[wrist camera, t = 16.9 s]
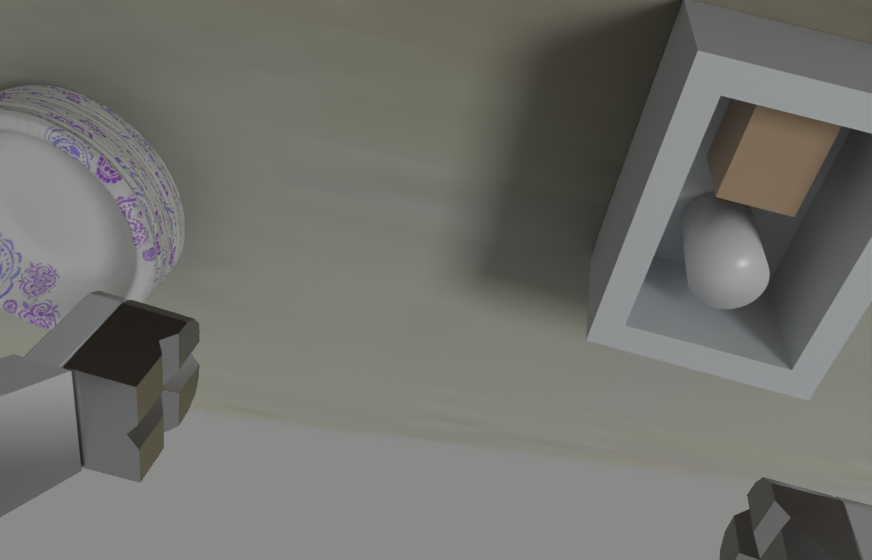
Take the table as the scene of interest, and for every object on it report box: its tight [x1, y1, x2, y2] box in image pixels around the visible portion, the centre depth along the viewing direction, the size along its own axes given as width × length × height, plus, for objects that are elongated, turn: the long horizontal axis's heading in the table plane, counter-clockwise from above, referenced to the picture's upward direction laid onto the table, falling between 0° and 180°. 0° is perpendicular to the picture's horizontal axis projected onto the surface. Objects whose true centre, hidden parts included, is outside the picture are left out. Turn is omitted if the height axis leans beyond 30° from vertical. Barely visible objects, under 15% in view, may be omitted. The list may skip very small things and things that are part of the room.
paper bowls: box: [0, 85, 185, 329], centre depth 50 cm, size 15×15×8 cm
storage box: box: [586, 0, 872, 401], centre depth 41 cm, size 16×12×9 cm
